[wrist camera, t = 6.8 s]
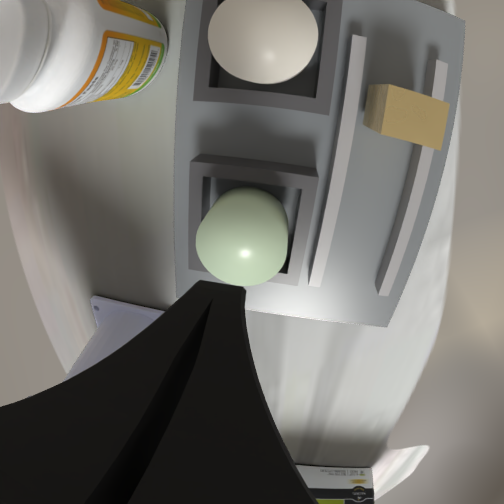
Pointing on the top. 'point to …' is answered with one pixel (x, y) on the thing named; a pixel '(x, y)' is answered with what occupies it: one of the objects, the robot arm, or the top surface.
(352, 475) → the tea box
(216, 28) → the white button
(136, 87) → the supplement bottle
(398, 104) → the tan wooden block
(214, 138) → the panel
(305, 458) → the top surface
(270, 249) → the sage button
